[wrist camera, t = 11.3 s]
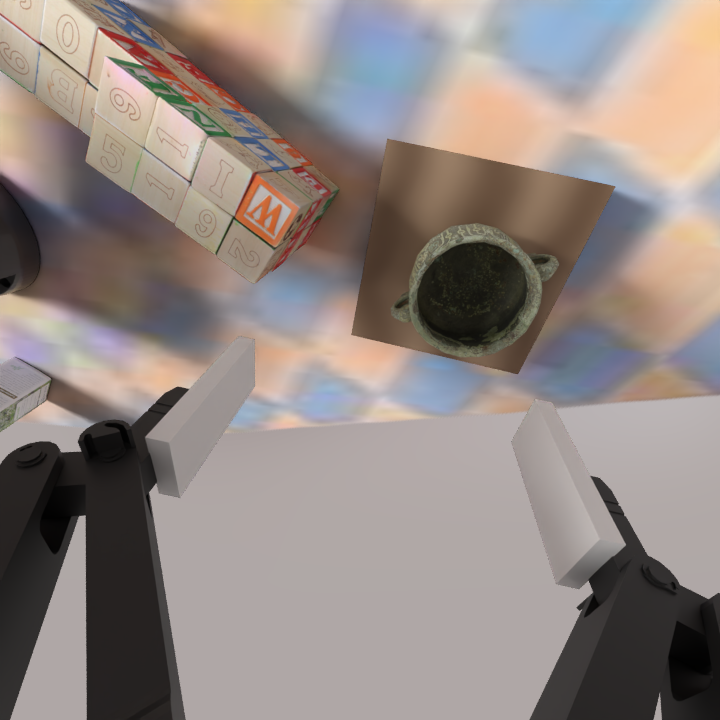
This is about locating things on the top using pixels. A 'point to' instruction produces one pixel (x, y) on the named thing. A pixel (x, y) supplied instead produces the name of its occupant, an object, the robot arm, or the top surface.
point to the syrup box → (20, 390)
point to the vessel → (473, 290)
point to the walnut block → (459, 207)
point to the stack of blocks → (166, 129)
